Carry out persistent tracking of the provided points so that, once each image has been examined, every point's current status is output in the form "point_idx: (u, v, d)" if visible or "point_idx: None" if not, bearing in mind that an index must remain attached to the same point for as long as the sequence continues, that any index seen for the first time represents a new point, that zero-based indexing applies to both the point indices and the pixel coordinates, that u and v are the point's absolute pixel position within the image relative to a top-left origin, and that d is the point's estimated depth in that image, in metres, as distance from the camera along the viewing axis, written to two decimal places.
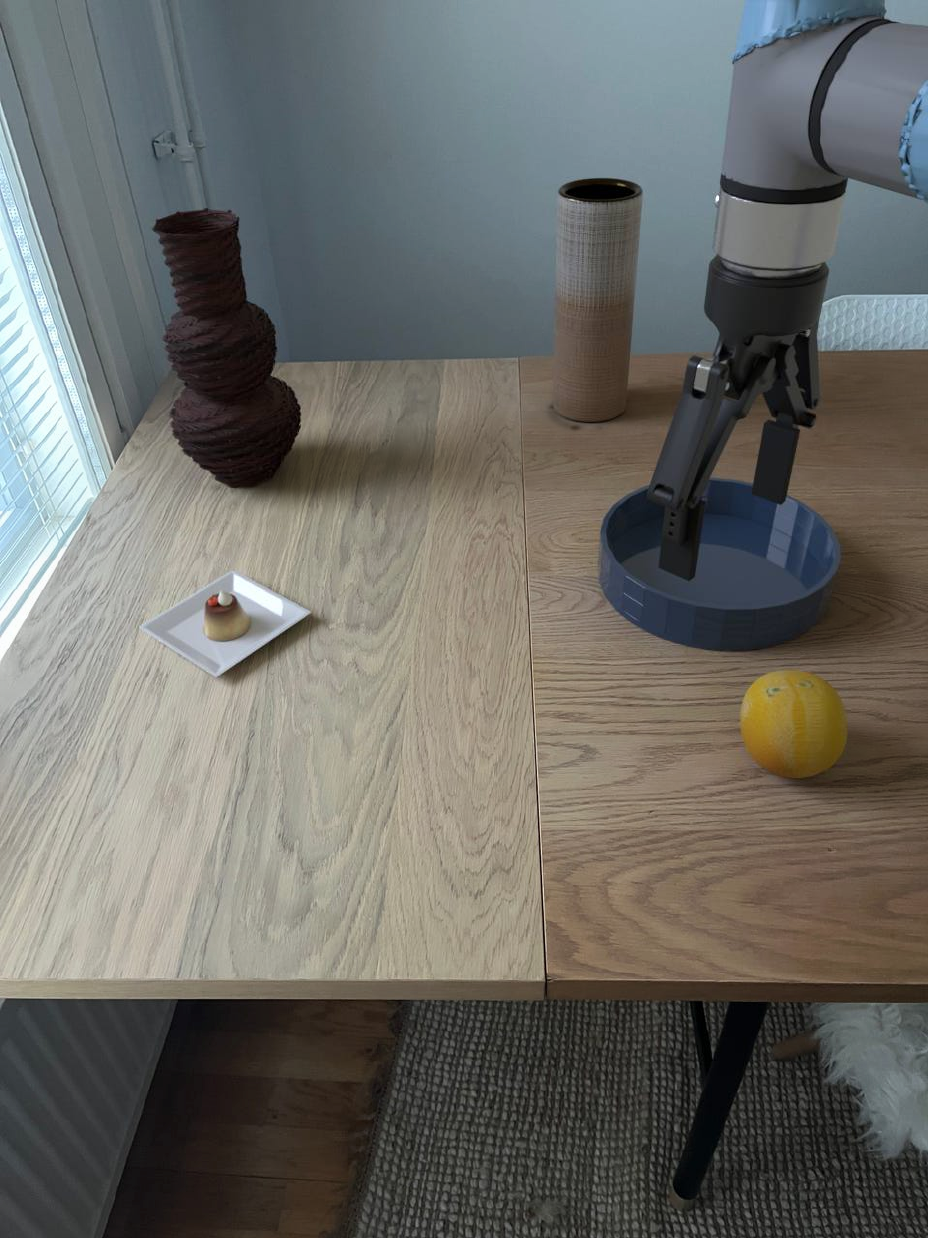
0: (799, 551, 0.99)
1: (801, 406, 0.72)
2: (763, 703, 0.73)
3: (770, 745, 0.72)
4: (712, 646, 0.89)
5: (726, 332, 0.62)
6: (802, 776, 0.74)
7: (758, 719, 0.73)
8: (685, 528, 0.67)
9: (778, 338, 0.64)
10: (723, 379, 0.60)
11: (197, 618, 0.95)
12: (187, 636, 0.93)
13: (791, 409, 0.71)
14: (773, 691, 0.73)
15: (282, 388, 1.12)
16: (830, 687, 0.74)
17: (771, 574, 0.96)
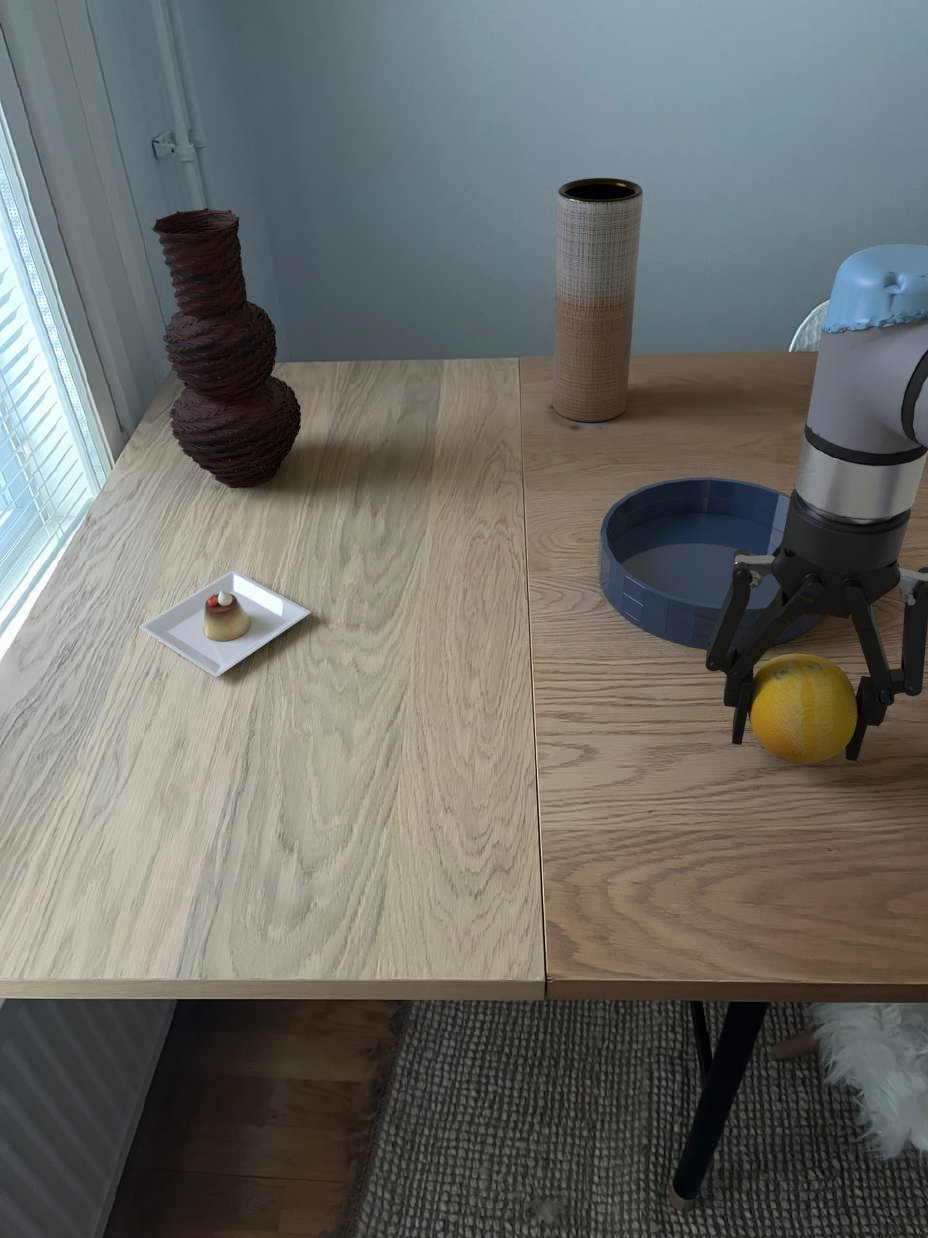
0: None
1: (883, 678, 0.69)
2: (770, 686, 0.72)
3: (778, 728, 0.71)
4: None
5: None
6: (811, 761, 0.72)
7: (766, 702, 0.72)
8: (733, 695, 0.74)
9: (851, 574, 0.65)
10: (740, 578, 0.67)
11: (197, 618, 0.95)
12: (187, 636, 0.93)
13: (868, 668, 0.69)
14: (781, 674, 0.72)
15: (282, 388, 1.12)
16: (839, 669, 0.72)
17: (771, 574, 0.96)
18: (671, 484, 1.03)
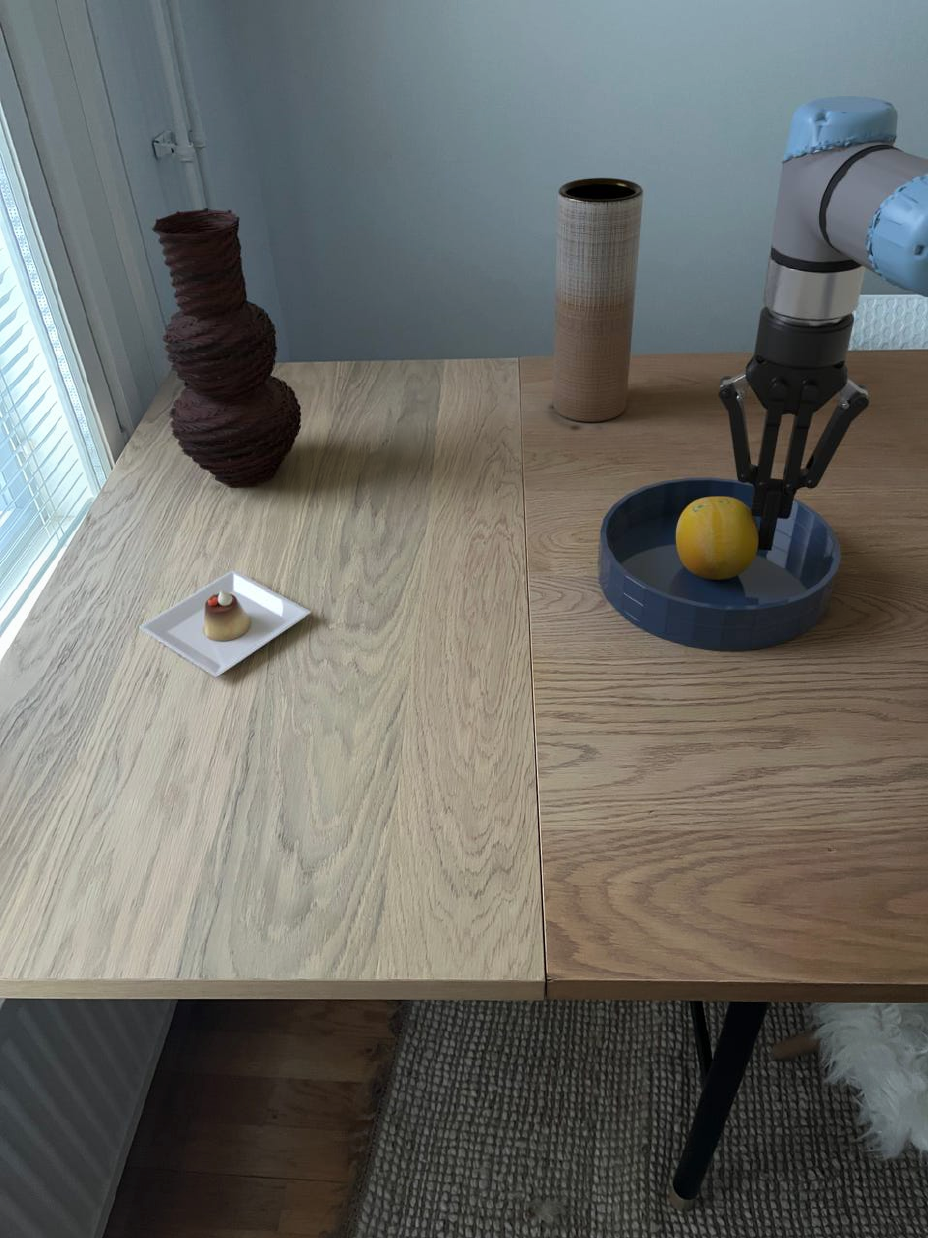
0: (799, 551, 0.99)
1: (795, 473, 0.87)
2: (689, 517, 0.92)
3: (695, 548, 0.91)
4: (712, 646, 0.89)
5: None
6: (724, 576, 0.93)
7: (686, 529, 0.92)
8: (760, 505, 0.91)
9: (808, 376, 0.81)
10: (726, 397, 0.84)
11: (196, 618, 0.95)
12: (187, 636, 0.93)
13: (787, 462, 0.87)
14: (697, 507, 0.92)
15: (282, 388, 1.12)
16: (743, 504, 0.93)
17: (771, 574, 0.96)
18: (671, 484, 1.03)
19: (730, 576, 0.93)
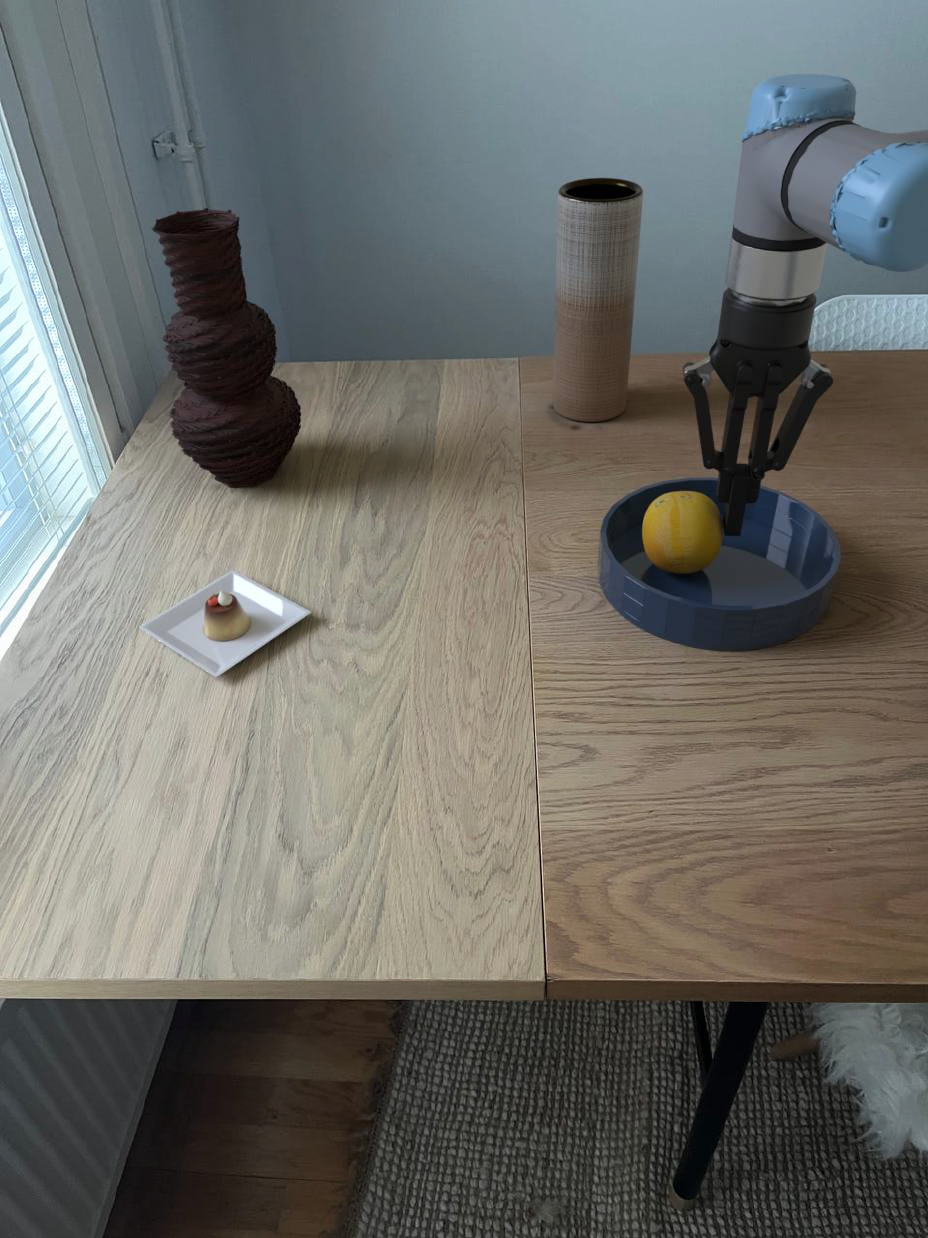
0: (799, 551, 0.99)
1: (762, 456, 0.87)
2: (651, 512, 0.93)
3: (654, 543, 0.93)
4: (712, 646, 0.89)
5: (718, 332, 0.82)
6: (686, 570, 0.94)
7: (647, 524, 0.93)
8: (725, 491, 0.90)
9: (773, 357, 0.81)
10: (692, 383, 0.83)
11: (196, 618, 0.95)
12: (187, 636, 0.93)
13: (754, 445, 0.87)
14: (659, 503, 0.93)
15: (282, 388, 1.12)
16: (707, 499, 0.93)
17: (771, 574, 0.96)
18: (671, 484, 1.03)
19: (692, 571, 0.94)
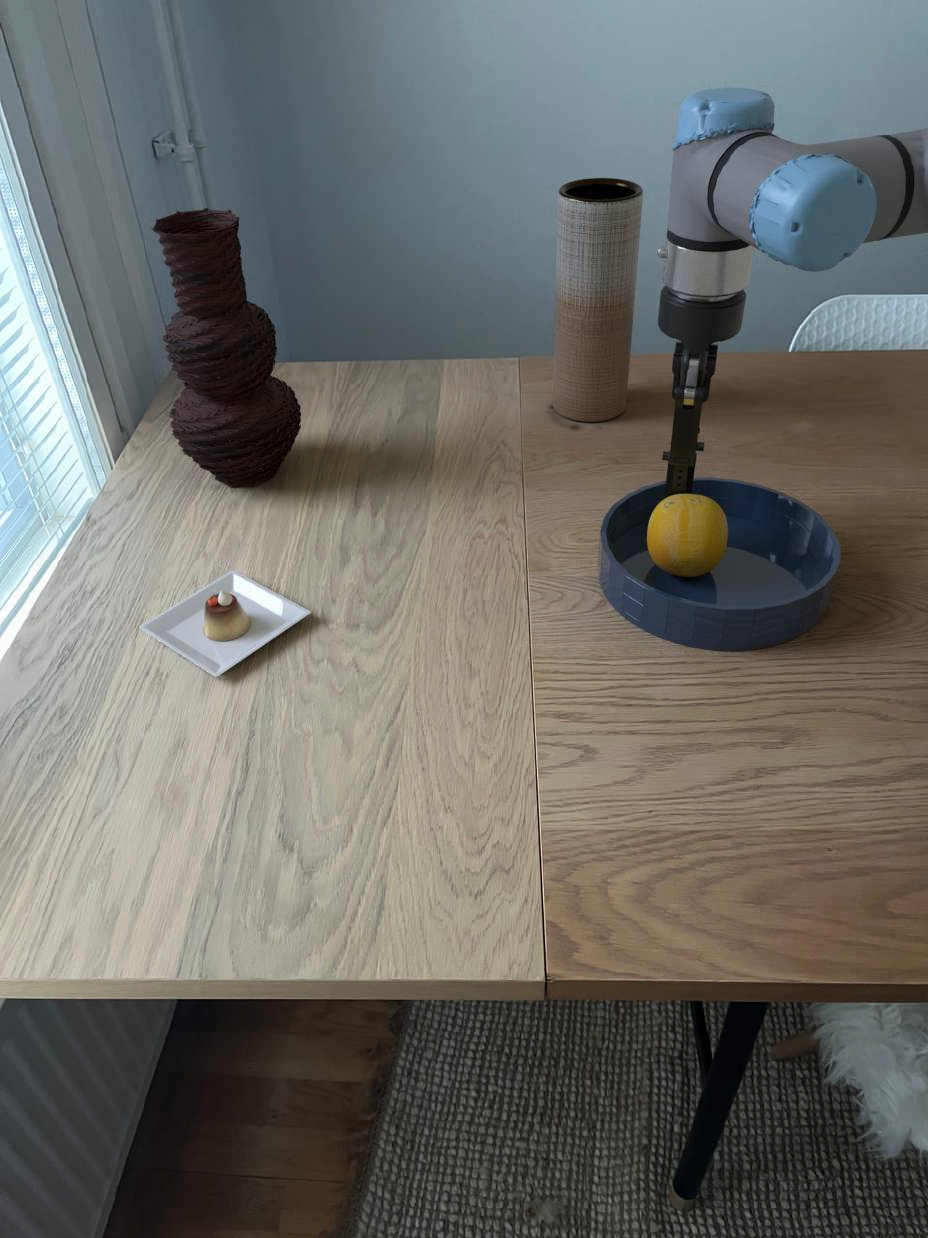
0: (799, 551, 0.99)
1: None
2: (660, 512, 0.93)
3: (661, 544, 0.92)
4: (712, 646, 0.89)
5: (692, 344, 0.84)
6: (688, 574, 0.94)
7: (655, 525, 0.93)
8: (687, 478, 0.96)
9: None
10: (703, 396, 0.85)
11: (196, 618, 0.95)
12: (187, 636, 0.93)
13: None
14: (669, 504, 0.93)
15: (282, 388, 1.12)
16: (716, 504, 0.93)
17: (771, 574, 0.96)
18: None
19: (694, 575, 0.94)
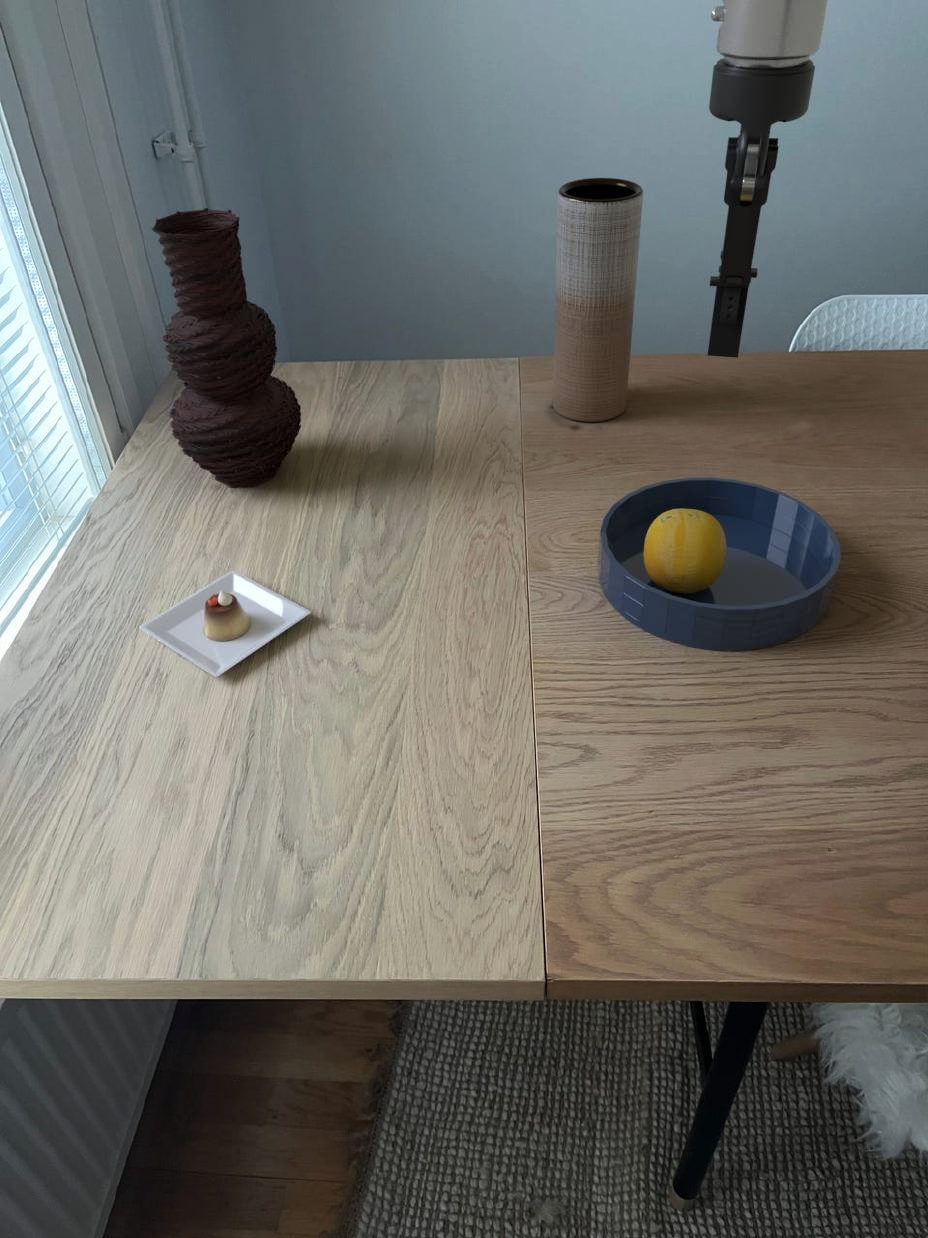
0: (799, 551, 0.99)
1: None
2: (656, 527, 0.91)
3: (656, 558, 0.91)
4: (712, 646, 0.89)
5: (751, 124, 0.72)
6: (683, 590, 0.92)
7: (651, 539, 0.91)
8: (737, 309, 0.83)
9: None
10: (765, 187, 0.73)
11: (196, 618, 0.95)
12: (187, 636, 0.93)
13: None
14: (666, 518, 0.91)
15: (282, 388, 1.12)
16: (714, 520, 0.91)
17: (771, 574, 0.96)
18: (671, 484, 1.03)
19: (690, 591, 0.92)
